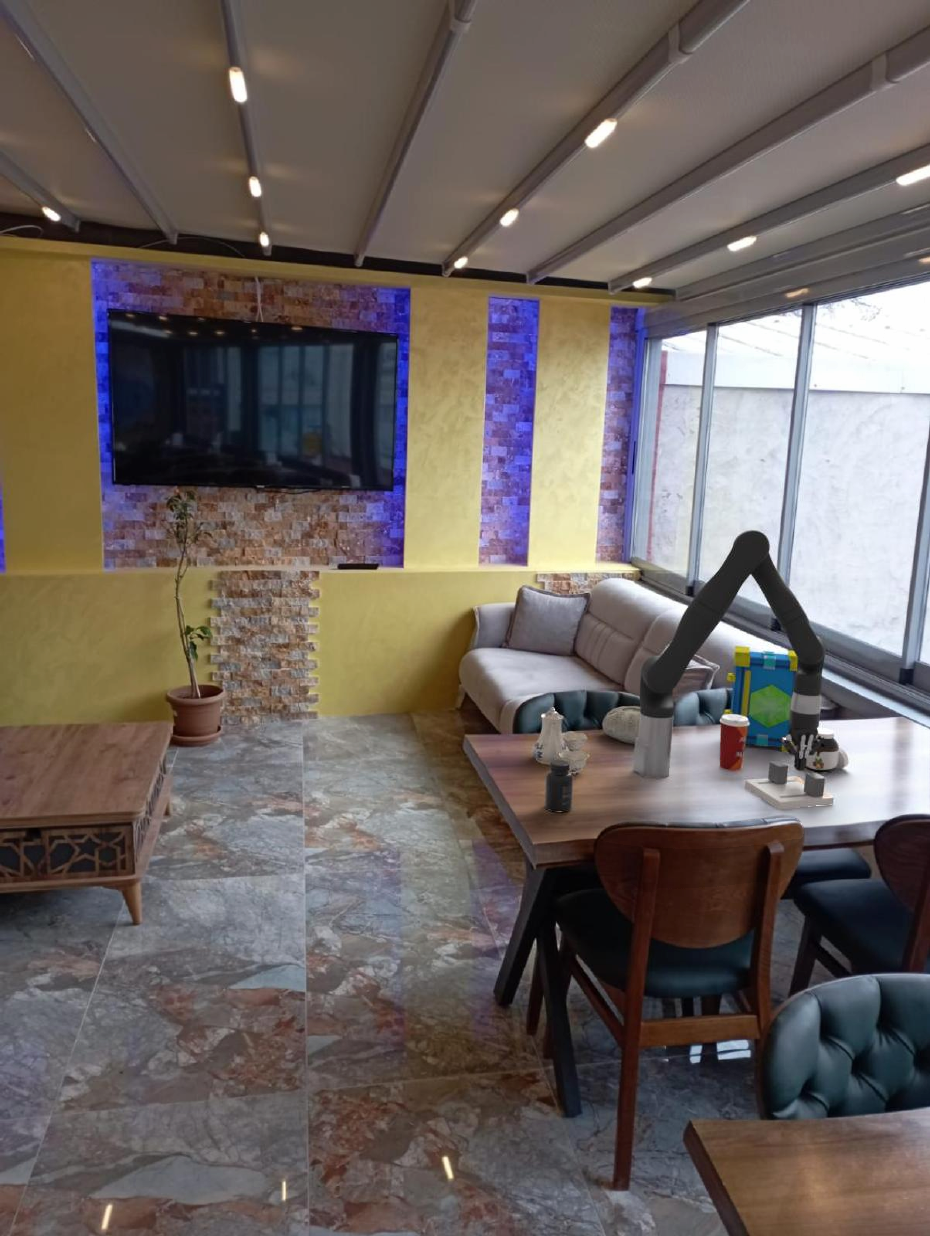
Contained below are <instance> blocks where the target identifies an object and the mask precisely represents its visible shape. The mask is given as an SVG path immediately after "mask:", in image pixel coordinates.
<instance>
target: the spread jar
mask: <svg viewBox="0 0 930 1236" xmlns="http://www.w3.org/2000/svg"><path fill="white" fill-rule="evenodd" d="M817 730H818V734H819V735H820V736H822V737H824V738H825V740H824V742H823V743H822V744H821V746H820V747H819V748H818V750H817V751H816V752H815V754H814V755H810V756H808V758H807V762H806V768H805V769H806V770H807V771H809V772H812V771H813V772H812V773H816V772H817V774H827V773H830V772H832V771H834V770H835V769H837V768H838V769H840V770H841V769H844V768H846V767H848V765H849V757H848V754H847V753H846V751H845V750H844V749H843V748H842V747H841V746H839V743H838V742H837V740H836V739H835V731H834V730H832V729H829V728H825V727H820V726H819V727H818V728H817ZM811 750H812V749H811Z"/></svg>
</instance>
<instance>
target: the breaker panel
mask: <svg viewBox="0 0 930 1236" xmlns="http://www.w3.org/2000/svg"><path fill="white" fill-rule="evenodd" d="M804 783H805V780H804V779H802V778H800V777H799V776H796V775H795V776H794V775H793V776H787V784H776V783H774V782H772V781H771V780H769V779H768V777H767V778H755V779H754V778H752V779H745V780H744V788H745V789H747V790H748V791H750V792H752V793H754V794H755V795H756V796H758V797H760V798H761V799H762V800H764V801H766V802H767V803H769V804H770V805H772V806H773V807H775V808H776V809H778V810H779V811H780V810H789V809H792V810H793V809H799V808H798V807H804V808H809V807H808V806H815V807H817V806H816V805H827V806H831V805H830V804H833V805H834V799H835V797H833V796H832V795H830V794H828V793H826V792H825V791H824V793H823V796H820V797H812V796H811V795H809V794H807V793H805V792H804Z"/></svg>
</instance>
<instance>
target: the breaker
mask: <svg viewBox="0 0 930 1236" xmlns="http://www.w3.org/2000/svg"><path fill="white" fill-rule="evenodd" d="M804 776H805V777H804V781H805V783H804V792H805V793H807V794H809V795H811V796H812V797H820V796H823V793H824V792H825V791H824V790H825V783H826V777H824V776H822V775H821V774H820V773H816V772H808V773H805V775H804Z"/></svg>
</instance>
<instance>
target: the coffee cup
mask: <svg viewBox="0 0 930 1236" xmlns="http://www.w3.org/2000/svg"><path fill="white" fill-rule="evenodd" d="M719 722H720V734H719V735H720V740H719V745H720V746H719V767H720V768H721V769H723V770H727V771H732V772H733V771H735V772H736V771H740V770H742V767H743V766H742V765H743V759H744V755H745V754H744V753H745V748H746V747H745V746H746V743H745V742H746V735H747V729H748V725H749V722H748V718H747V717H745V716H741V715H736V714H725V715H724V714H722V716H721V718H720V719H719Z"/></svg>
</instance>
